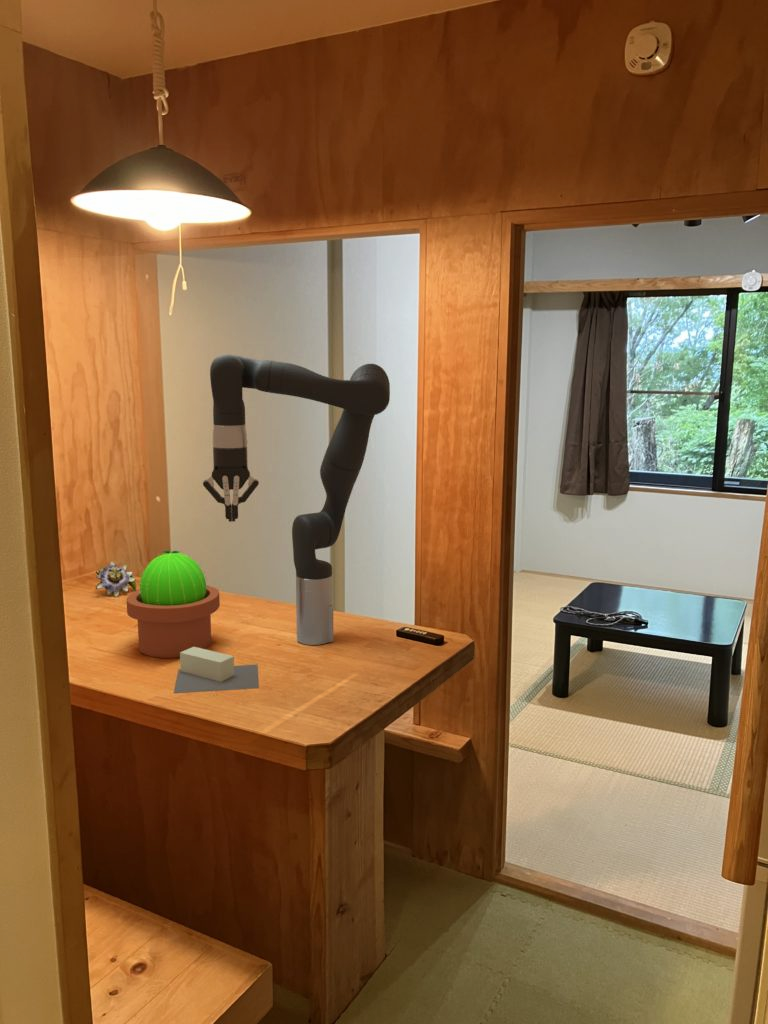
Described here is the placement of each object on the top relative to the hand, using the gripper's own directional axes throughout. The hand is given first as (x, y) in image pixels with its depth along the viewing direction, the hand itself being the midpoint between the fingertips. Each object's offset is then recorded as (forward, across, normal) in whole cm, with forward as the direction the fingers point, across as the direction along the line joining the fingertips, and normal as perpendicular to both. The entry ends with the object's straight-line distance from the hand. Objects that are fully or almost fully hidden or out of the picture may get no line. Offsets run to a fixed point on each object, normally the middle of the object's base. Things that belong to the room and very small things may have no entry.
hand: (232, 520), depth 181 cm
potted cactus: (+35, -15, +16) cm, 41 cm away
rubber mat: (+35, -4, -9) cm, 36 cm away
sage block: (+32, -2, -10) cm, 33 cm away
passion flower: (+35, -37, +68) cm, 85 cm away
